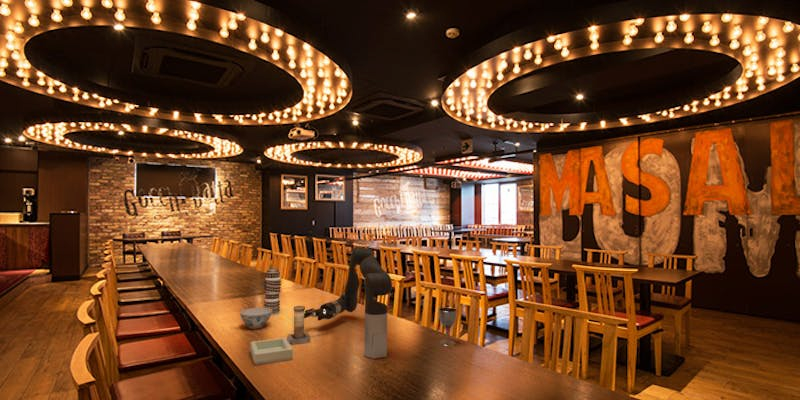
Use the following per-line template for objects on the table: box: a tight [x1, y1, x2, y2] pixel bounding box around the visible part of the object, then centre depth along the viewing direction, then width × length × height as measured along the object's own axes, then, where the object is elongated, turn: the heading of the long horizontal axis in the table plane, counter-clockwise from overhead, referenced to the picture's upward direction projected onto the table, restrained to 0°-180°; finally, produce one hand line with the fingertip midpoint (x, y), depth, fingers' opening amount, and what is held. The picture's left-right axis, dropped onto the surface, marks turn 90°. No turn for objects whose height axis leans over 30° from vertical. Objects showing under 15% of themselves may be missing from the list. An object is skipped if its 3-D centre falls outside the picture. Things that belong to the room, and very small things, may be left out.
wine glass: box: [438, 306, 458, 347], centre depth 178 cm, size 8×8×15 cm
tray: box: [250, 337, 294, 366], centre depth 160 cm, size 16×14×4 cm
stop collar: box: [286, 331, 311, 346], centre depth 179 cm, size 9×9×2 cm
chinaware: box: [239, 307, 272, 330], centre depth 199 cm, size 15×15×8 cm
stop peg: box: [293, 305, 306, 339], centre depth 179 cm, size 5×5×15 cm
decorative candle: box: [263, 268, 282, 317], centre depth 225 cm, size 9×9×25 cm
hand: (310, 317), depth 187 cm, fingers open, 8 cm apart
